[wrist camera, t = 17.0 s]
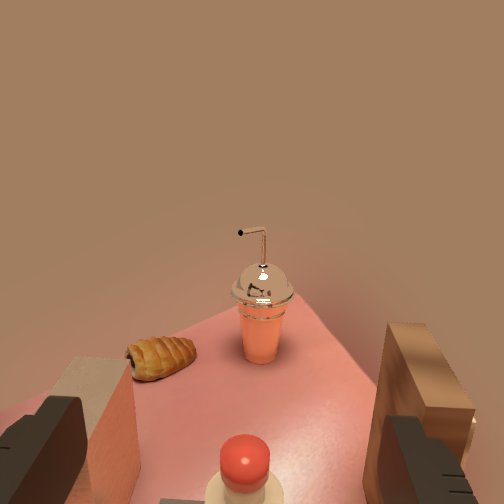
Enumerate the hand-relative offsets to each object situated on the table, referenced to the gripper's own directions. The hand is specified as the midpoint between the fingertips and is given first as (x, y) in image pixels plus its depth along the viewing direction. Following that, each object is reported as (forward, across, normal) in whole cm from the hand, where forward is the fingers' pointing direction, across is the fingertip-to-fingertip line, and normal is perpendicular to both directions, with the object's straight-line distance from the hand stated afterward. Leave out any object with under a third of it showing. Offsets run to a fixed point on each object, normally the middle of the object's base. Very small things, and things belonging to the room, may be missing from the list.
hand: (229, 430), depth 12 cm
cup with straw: (+43, 0, +28) cm, 52 cm away
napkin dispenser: (+18, +14, +28) cm, 36 cm away
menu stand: (+18, -12, +28) cm, 36 cm away
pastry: (+40, +14, +28) cm, 51 cm away
